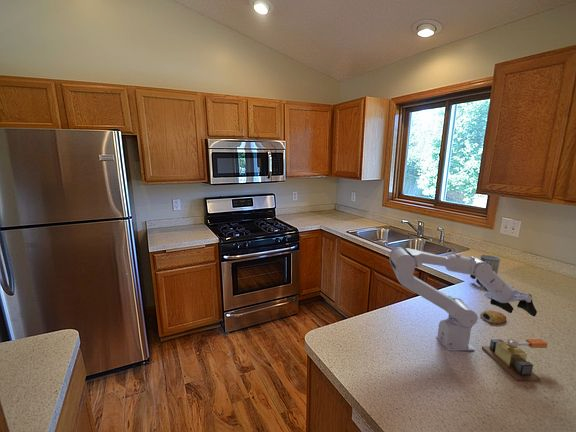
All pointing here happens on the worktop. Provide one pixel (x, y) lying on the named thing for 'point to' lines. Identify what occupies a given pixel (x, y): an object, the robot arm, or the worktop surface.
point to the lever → (527, 343)
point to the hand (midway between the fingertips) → (522, 312)
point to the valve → (511, 357)
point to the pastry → (493, 316)
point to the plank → (511, 370)
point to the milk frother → (490, 261)
